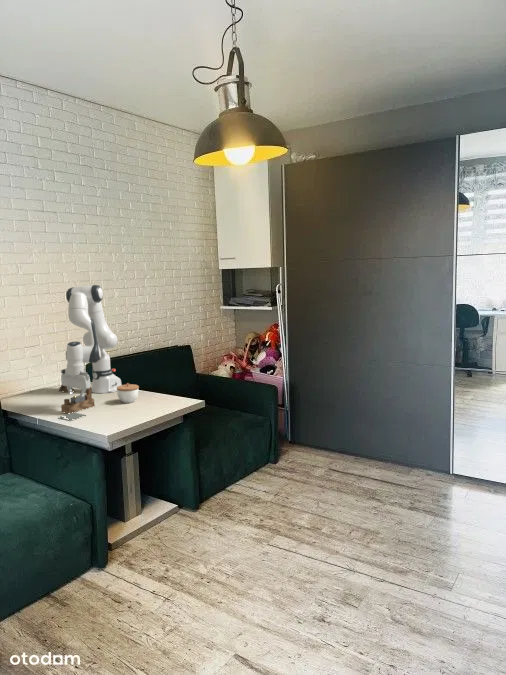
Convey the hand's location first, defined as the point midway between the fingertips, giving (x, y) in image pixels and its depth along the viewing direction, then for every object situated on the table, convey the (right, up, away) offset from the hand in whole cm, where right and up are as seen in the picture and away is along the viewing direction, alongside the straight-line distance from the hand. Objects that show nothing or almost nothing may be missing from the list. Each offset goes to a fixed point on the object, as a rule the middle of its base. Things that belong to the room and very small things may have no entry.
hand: (76, 395), depth 279 cm
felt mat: (+2, -10, -13) cm, 17 cm away
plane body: (+1, -8, +2) cm, 8 cm away
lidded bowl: (+25, -6, +17) cm, 31 cm away
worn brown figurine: (-22, -3, +44) cm, 49 cm away
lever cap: (0, -4, +1) cm, 4 cm away
